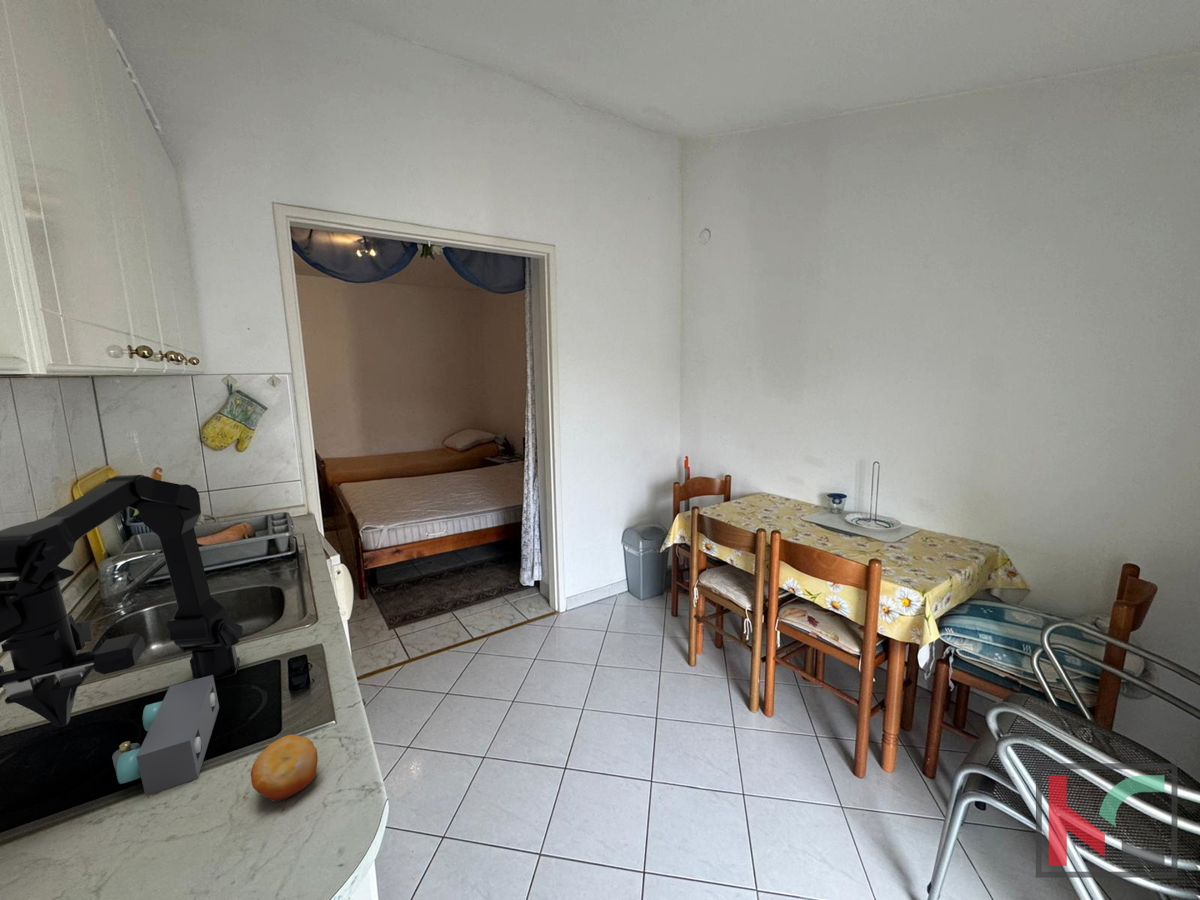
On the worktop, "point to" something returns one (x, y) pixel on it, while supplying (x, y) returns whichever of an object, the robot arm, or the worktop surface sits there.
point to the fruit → (284, 767)
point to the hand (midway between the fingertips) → (64, 724)
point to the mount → (178, 736)
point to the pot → (124, 748)
